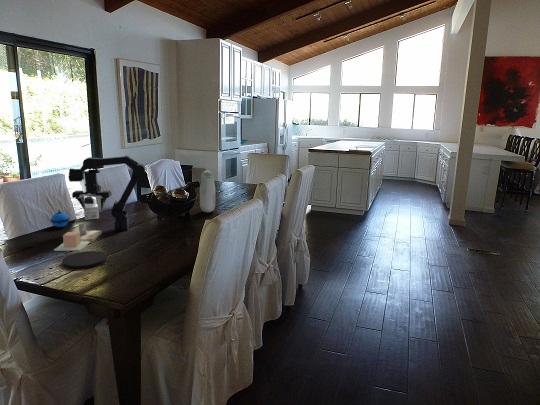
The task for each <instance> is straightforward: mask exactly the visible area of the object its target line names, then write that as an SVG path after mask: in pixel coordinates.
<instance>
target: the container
mask: <svg viewBox="0 0 540 405" xmlns="http://www.w3.org/2000/svg"><path fill="white" fill-rule="evenodd" d="M84 202H85V210H84V209H83V212H84V213H83V215H84V220H85V221H86V220H96V219H100V214H99V205H98V204H97V198H96V196H85V197H84Z"/></svg>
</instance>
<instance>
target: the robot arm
mask: <svg viewBox="0 0 540 405" xmlns="http://www.w3.org/2000/svg"><path fill="white" fill-rule="evenodd" d="M122 164H125V165H126V166H127V167H128V168H130V169H131V170H132V174H131V177H130V179H129V181H128V183H127V185H126V187H125V189H124V191H123V193H122V195H121V197H120V198H119V200H115V201H114V203H113V205H112V206H111V208H110V213H111V216H112V217H114V219H115V221H114V231H115V232H119V231H120V232H127V231H128V230H129V229H130V228H131V226H129V225H130V224H129V217H128V215H129V213H128V212H127V211H126V210H125V208H126V204H127V202H128V200H129V197H130V196H131V194H132V192H133V190H134V189H135V187H136V185H137V183H138V181H139V180H140V179H141V178H142V176H143V175H144V174H145V173H146V166H145V165H144V164H143V163H140V162H138V161H136V160H135V159H133V158H131V156H129V155H125V156H113V157H103V158H102V157H87V158H85V159H83V162H82V166H81V167H80V168H69V169H68V170H69V171H68V181H69V182H70V183H71V182H72V183H73V182H76V183H77V182H83V180H84V187H85V191H84V190H75V191H73V192H72V193H71V197H72V198H73V199H75V200H77V201H78V203H79V204H80V206H81V207H82V209H83V211H84V210H85V202H84V198H85V197H100V209H101V210H104V206H105V205H106V204H105V203H106V201H107V199H109V198H111V196H112V195H113V194H112V191H111V190H103V191H102V186H101V185H99V182H98V178H97V177H98V175H97V174H99V173H101V170H99V169H98V168H100V167H104V166H113V165H122ZM87 170H88V171H87Z"/></svg>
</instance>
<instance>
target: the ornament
mask: <svg viewBox="0 0 540 405" xmlns="http://www.w3.org/2000/svg"><path fill="white" fill-rule="evenodd" d="M50 221H51V223H52V225H53V226H54V227H57V228H63V227H65V226H67V225H68V223H69V221H70V218H69V216H68V215H67V214H66V213H64V212H61V210H60V209H58V212H55V213H54V214H53V215H52V216H51V219H50Z"/></svg>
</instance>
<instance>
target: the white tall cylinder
mask: <svg viewBox="0 0 540 405" xmlns="http://www.w3.org/2000/svg"><path fill="white" fill-rule="evenodd" d="M215 185H216V184H215V179H214V173H213V172H212V171H211V170H210V169H209V170H206V169H205V170H204V171H202V173H201V181H200V185H199V207H200V209H201V211H203V212H204V213H211V212H213V211H214V210H215V208H216V186H215Z"/></svg>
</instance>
